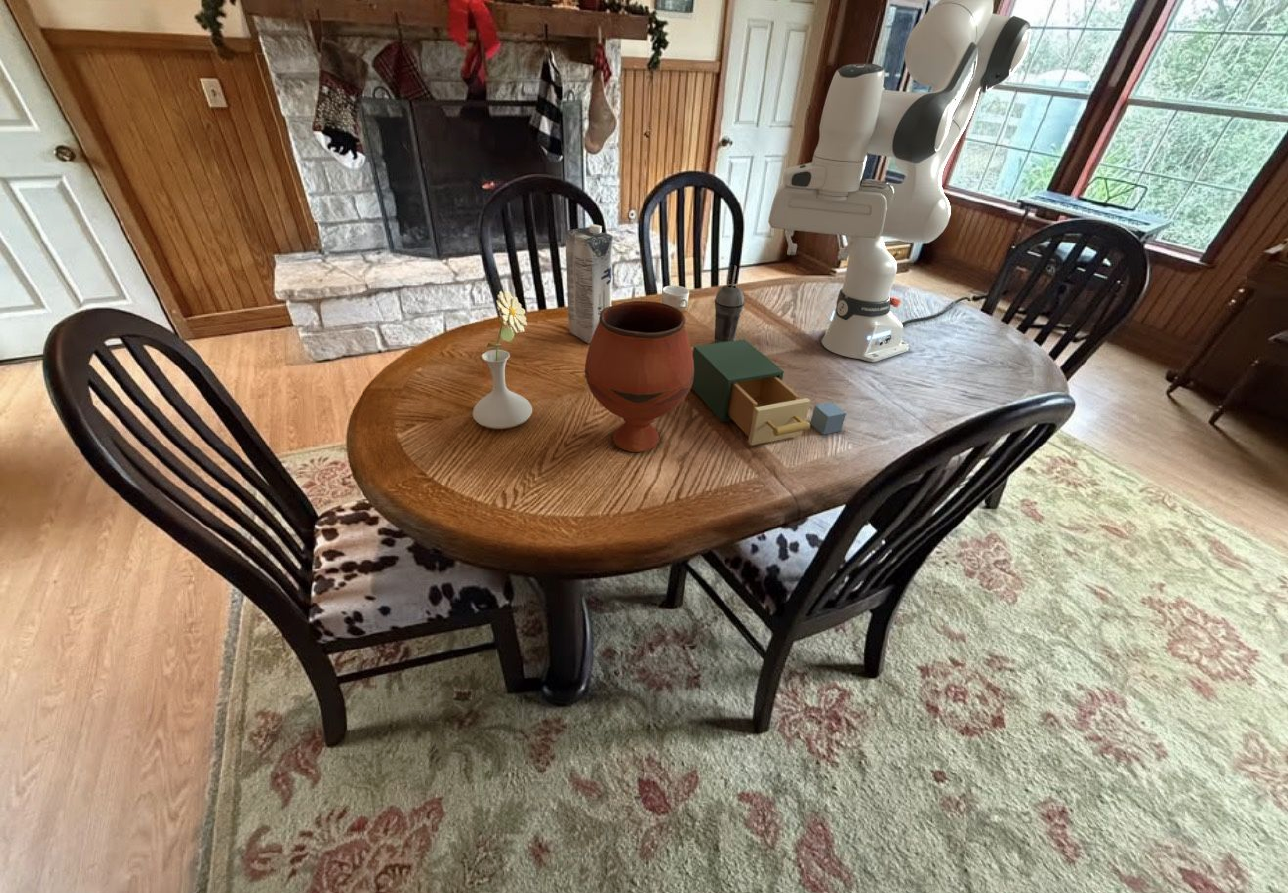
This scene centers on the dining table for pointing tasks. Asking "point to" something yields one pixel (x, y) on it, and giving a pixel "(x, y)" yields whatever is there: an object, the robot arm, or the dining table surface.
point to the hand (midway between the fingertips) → (816, 257)
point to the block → (827, 418)
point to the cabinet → (727, 371)
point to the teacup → (675, 296)
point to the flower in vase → (503, 373)
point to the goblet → (639, 367)
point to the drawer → (767, 410)
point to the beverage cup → (728, 311)
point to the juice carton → (587, 278)
